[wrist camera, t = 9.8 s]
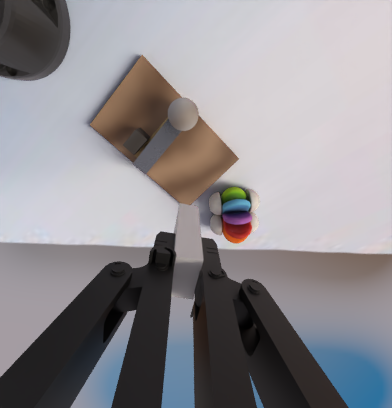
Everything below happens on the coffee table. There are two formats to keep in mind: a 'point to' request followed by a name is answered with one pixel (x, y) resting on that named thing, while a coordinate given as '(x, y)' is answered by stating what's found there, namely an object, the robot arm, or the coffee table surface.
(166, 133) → the bar
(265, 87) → the coffee table surface
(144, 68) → the board
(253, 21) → the coffee table surface
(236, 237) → the multicolored petal toy
